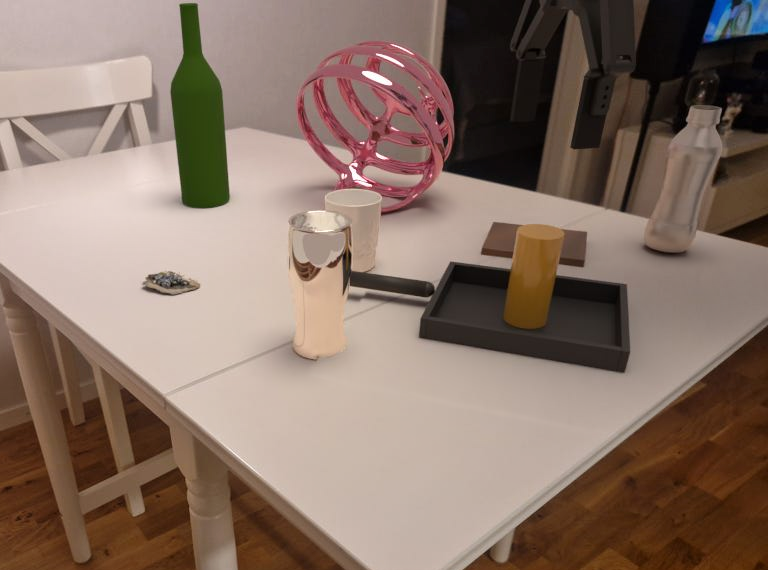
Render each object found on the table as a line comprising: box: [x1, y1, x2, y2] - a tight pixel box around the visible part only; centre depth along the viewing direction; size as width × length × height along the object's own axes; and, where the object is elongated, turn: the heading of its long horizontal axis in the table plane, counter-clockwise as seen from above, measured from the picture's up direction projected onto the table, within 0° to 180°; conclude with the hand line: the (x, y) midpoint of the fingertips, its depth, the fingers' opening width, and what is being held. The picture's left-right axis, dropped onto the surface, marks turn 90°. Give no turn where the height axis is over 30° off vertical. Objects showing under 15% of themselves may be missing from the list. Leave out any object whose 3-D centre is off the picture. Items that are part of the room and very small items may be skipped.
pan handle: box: [349, 271, 436, 299], centre depth 83 cm, size 12×2×2 cm, turn 67°
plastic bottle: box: [643, 104, 723, 254], centre depth 92 cm, size 6×7×20 cm
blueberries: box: [141, 270, 201, 296], centre depth 90 cm, size 7×8×2 cm
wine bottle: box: [169, 2, 231, 209], centre depth 115 cm, size 9×9×32 cm
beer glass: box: [286, 209, 353, 361], centre depth 71 cm, size 7×7×15 cm
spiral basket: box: [295, 39, 456, 214], centre depth 113 cm, size 28×28×27 cm
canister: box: [503, 223, 565, 329], centre depth 76 cm, size 5×5×11 cm
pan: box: [418, 261, 631, 374], centre depth 78 cm, size 22×18×3 cm
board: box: [480, 221, 588, 268], centre depth 99 cm, size 14×12×2 cm
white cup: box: [324, 188, 383, 273], centre depth 93 cm, size 8×8×10 cm
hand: (550, 133), depth 71 cm, fingers open, 13 cm apart
